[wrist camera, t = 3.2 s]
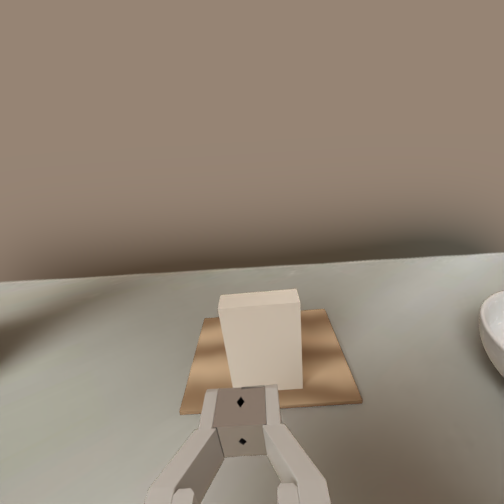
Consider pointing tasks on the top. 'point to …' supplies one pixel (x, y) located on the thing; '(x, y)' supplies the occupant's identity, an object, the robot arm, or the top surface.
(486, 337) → the serving bowl
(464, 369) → the top surface
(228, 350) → the tile
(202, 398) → the wooden board
